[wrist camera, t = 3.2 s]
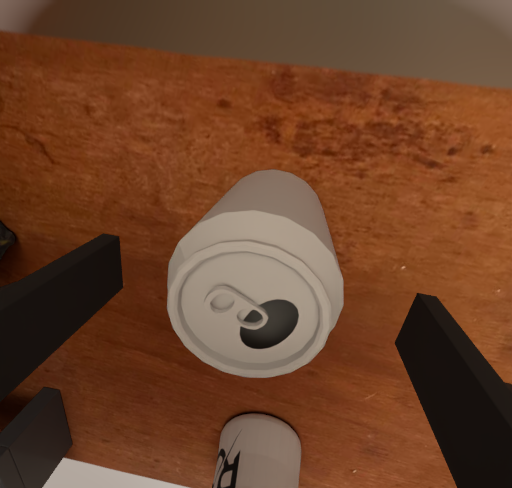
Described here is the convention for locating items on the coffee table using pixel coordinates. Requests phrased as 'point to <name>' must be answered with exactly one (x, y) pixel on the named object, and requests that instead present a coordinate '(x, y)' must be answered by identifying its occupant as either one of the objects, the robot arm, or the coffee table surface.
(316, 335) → the can
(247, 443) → the mug
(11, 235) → the candle
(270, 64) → the coffee table surface
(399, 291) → the coffee table surface
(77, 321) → the robot arm
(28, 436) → the shelf
